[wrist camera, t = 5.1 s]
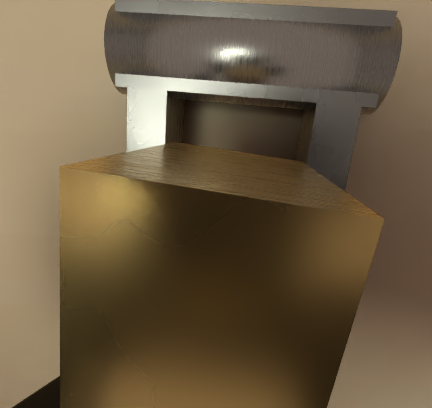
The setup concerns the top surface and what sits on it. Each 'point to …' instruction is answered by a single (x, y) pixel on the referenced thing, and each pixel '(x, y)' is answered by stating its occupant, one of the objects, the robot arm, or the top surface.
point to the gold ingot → (206, 279)
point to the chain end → (253, 68)
